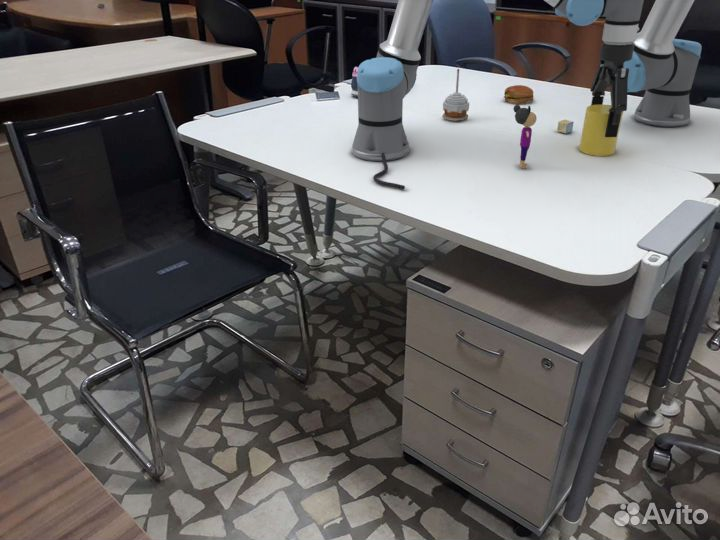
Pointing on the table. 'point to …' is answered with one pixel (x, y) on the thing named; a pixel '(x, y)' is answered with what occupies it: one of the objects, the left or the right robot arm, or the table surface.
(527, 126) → the toy
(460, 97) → the cream topped cupcake
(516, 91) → the burger
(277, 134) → the table surface
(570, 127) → the alphabet block
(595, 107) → the canister
